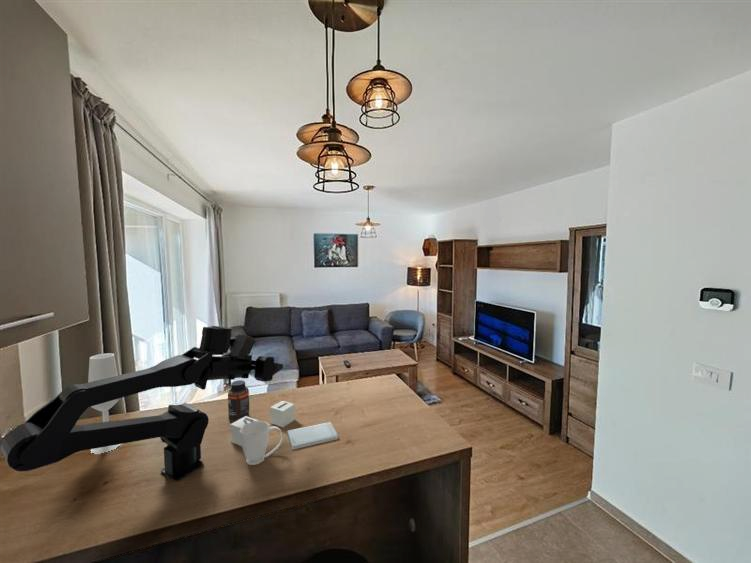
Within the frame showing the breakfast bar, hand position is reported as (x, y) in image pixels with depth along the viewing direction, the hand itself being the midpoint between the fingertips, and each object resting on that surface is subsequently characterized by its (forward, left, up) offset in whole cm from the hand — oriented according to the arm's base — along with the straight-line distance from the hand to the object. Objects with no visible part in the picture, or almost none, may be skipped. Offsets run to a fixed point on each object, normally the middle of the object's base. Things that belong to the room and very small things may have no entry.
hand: (272, 364), depth 93 cm
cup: (-14, -11, -18) cm, 25 cm away
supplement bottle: (-4, +10, -18) cm, 21 cm away
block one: (+1, -3, -18) cm, 18 cm away
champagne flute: (-30, +28, -18) cm, 45 cm away
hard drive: (-1, -16, -18) cm, 24 cm away
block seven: (-11, -1, -18) cm, 21 cm away
